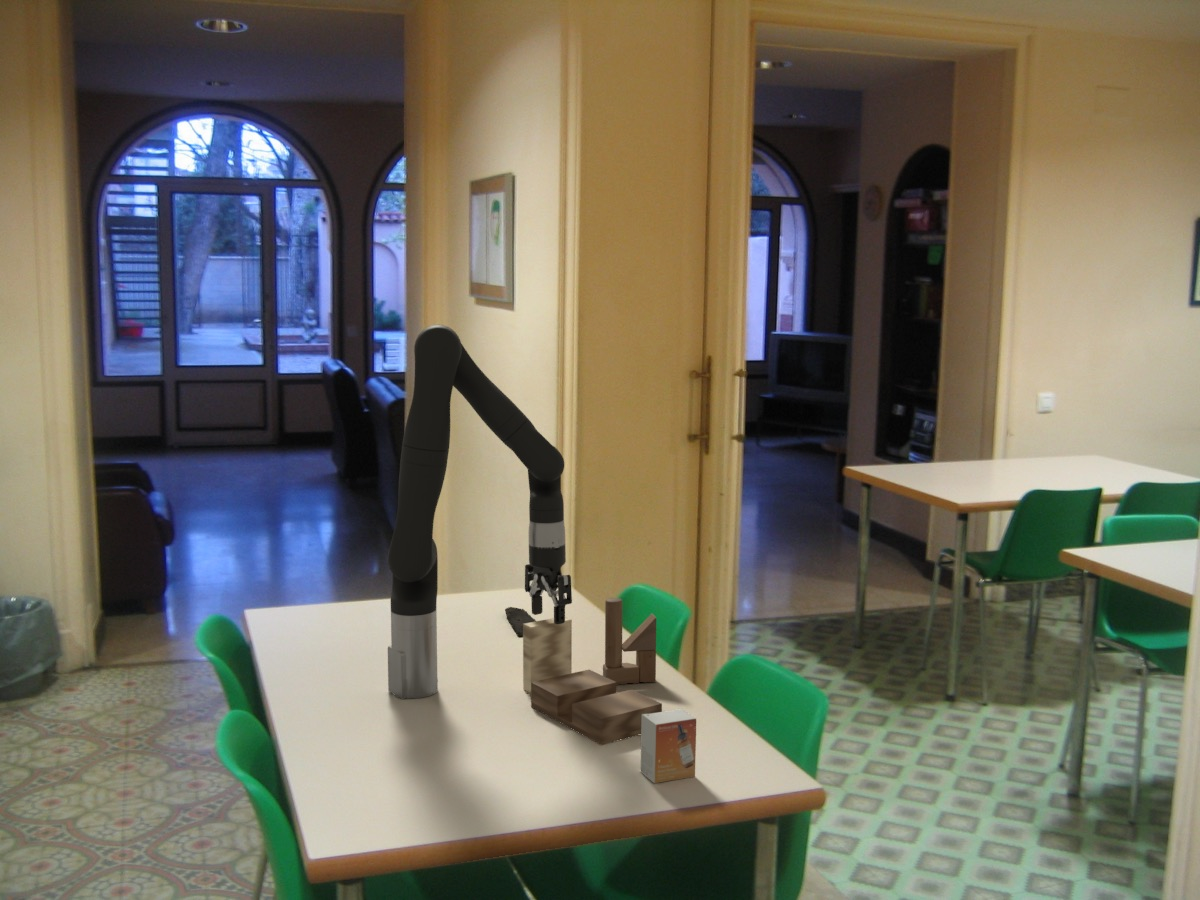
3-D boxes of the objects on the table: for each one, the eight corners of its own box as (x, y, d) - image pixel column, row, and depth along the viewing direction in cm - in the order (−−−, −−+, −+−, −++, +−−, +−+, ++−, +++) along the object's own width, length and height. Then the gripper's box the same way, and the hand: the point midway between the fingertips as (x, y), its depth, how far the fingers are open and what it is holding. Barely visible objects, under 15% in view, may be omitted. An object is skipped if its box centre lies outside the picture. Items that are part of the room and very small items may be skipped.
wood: (548, 638, 282) (548, 625, 282) (518, 640, 280) (518, 627, 280) (530, 613, 303) (530, 601, 303) (502, 614, 302) (502, 603, 301)
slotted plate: (601, 745, 216) (601, 718, 215) (531, 706, 235) (531, 682, 234) (661, 728, 224) (661, 703, 223) (589, 692, 243) (589, 669, 242)
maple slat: (530, 693, 243) (530, 627, 241) (523, 689, 245) (523, 623, 243) (571, 684, 248) (571, 619, 246) (563, 680, 251) (563, 616, 249)
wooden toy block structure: (656, 682, 250) (657, 599, 247) (606, 686, 247) (606, 602, 245) (651, 677, 253) (652, 595, 251) (602, 680, 251) (602, 597, 248)
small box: (654, 784, 199) (654, 724, 198) (639, 772, 204) (640, 713, 203) (696, 777, 202) (697, 718, 201) (681, 764, 207) (682, 707, 206)
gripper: (513, 538, 246) (514, 614, 248) (550, 550, 235) (551, 630, 237) (543, 533, 250) (545, 608, 253) (581, 545, 239) (582, 623, 241)
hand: (548, 618), depth 245 cm, fingers open, 8 cm apart
